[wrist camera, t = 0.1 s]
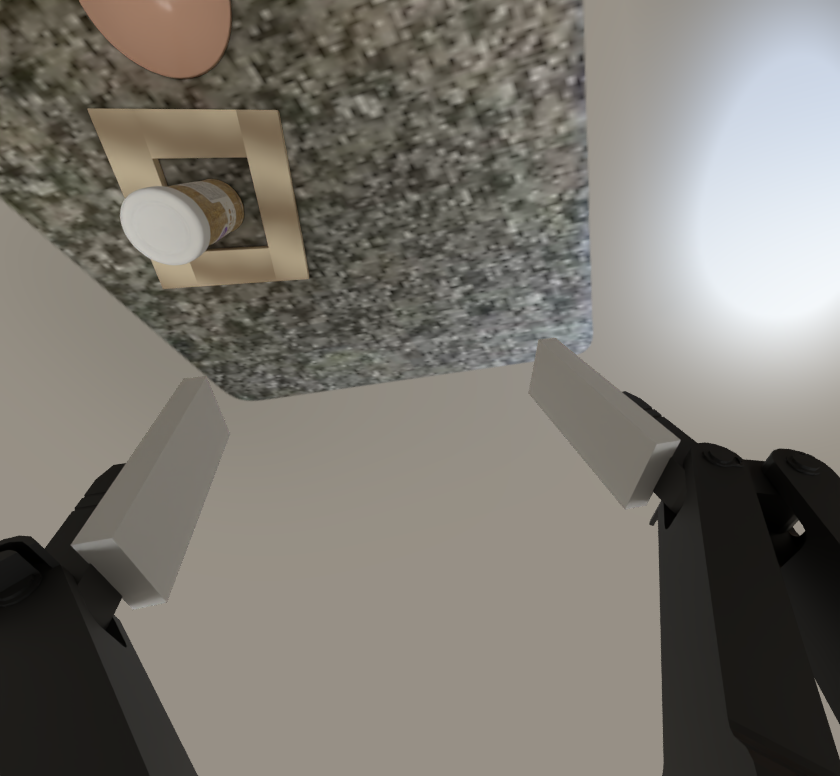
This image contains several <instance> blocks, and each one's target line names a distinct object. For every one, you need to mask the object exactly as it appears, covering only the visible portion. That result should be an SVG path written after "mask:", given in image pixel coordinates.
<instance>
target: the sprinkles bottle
mask: <svg viewBox="0 0 840 776" xmlns="http://www.w3.org/2000/svg"><path fill="white" fill-rule="evenodd" d="M243 218H244V206H243V203H242V201H241V199H240V197H239V196H238V194H237V193H236V192H235V191H234V189H233V188H231V187H230V186H229V185H228V184H226V183H224V182H222V181H220V180H216V179H205V180H202V181H196V182H190V183H184V184H178V185H172V186H168V187H164V186H152V187H147V188H142V189H139V190H136V191H134V192H132V193H131V194H129V195H128V196H127V197H126V198H125V199H124V201H123V203H122V206H121V210H120V220H121V225H122V228H123V230H124V233H125V234H126V236H127V238H128V239H129V241H130V242H131V243H132V244H133V246H134V247H135V248H136V249H137V250H139V251H140V252H141V253H142V254H143V255H145V256H146V257H148V258H150V259H152V260H154V261H156V262H159V263H162V264H166V265H183V264H187V263H189V262H191V261H193V260H195V259H196V258H198V257H199V256H201V255H202V254H203V253H204V252H205V251H206V249H207V247H208V246H209V245H211V244H213V243H215V242H216V241H218V240H219V239H221V238H222V237H224V236H225V235H227V234H228V233H230V232H232V231H234V230H236V229H237V228H239V226H240V225H241V224H242V222H243Z"/></svg>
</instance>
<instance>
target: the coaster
mask: <svg viewBox="0 0 840 776" xmlns="http://www.w3.org/2000/svg"><path fill="white" fill-rule="evenodd" d="M79 2H80V3H81V5H82V7H83V8H84V10H85V11H86V13H87V15H88V16H89V18H90V19H91V20H92V22H93V23H94V24H95V26H96V27H97V28H98V30H99V31H100V32H101V33H102V34H103V35H104V36H105V38H106V39H107V40H108V41H109V42H110V43H111V44H112V45H113V46H114V47H116V48H117V49H118V50H119V51H120V52H121V53H123V54H124V55H125V56H126V57H128V58H129V59H131V60H132V61H134V62H135V63H137V64H138V65H140V66H142V67H144V68H146V69H148V70H150V71H152V72H154V73H157V74H159V75H162V76H166V77H170V78H176V79H191V78H195V77H199V76H201V75H203V74H205V73H207V72H208V71H210V70H211V69H213V68H214V67H215V66H216V65H217V64H218V62H219V61H220V60H221V58H222V57H223V55H224V53H225V51H226V48H227V46H228V42H229V39H230V33H231V26H232V11H231V1H230V0H79Z"/></svg>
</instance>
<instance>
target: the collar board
mask: <svg viewBox="0 0 840 776" xmlns="http://www.w3.org/2000/svg"><path fill="white" fill-rule="evenodd" d="M87 110H88V112H89V115H90V117H91V119H92V122H93V124H94V126H95V129H96V131H97V134H98V136H99V138H100V141H101V143H102V145H103V148H104V150H105V152H106V155H107V157H108V160H109V162H110V164H111V167H112V169H113V171H114V174H115V176H116V178H117V181H118V183H119V186H120V188H121V190H122V193H123V195H124V197H125V198H126V197H127V196H128V195H129V194H131V193H132V192H134V191H136V190H139V189H142V188H147V187H152V186H164V187H168V185H167V182H166V180H165V177H164V174H163V171H162V168H161V166H160V163H159V160H158V158H236V157H247V159H248V163H249V167H250V171H251V175H252V180H253V184H254V188H255V192H256V196H257V201H258V205H259V209H260V213H261V217H262V222H263V226H264V230H265V234H266V238H267V243H268V246H255V247H236V248H217V249H206V251H205V252H204V253H203V254H202V255H201V256H199V257H198V258H196V259H195V260H193V261H191V262H189V263H187V264H183V265H166V264H162V263H159V262H156V261H154V260H152V259H151V261H152V264H153V266H154V268H155V271H156V273H157V275H158V278H159V280H160V283H161V285H162V287H163V289H169V288H183V287H198V286H213V285H227V284H242V283H257V282H271V281H286V280H300V279H309V270H308V265H307V260H306V254H305V249H304V243H303V238H302V232H301V227H300V222H299V216H298V211H297V205H296V200H295V195H294V189H293V184H292V178H291V173H290V167H289V162H288V157H287V151H286V146H285V140H284V135H283V129H282V124H281V119H280V113H279V111H278V110H207V109H87Z"/></svg>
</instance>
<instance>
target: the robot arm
mask: <svg viewBox="0 0 840 776" xmlns="http://www.w3.org/2000/svg"><path fill="white" fill-rule="evenodd" d="M529 394H530V396H531V397H532V398H533V399H534V400H535V401H536V403H537V404H538V405H539V406H540V408H541V409H542V410H543V411H544V412H545V414H546V415H547V416H548V417H549V418H550V420H551V421H552V422H553V423H554V424H555V426H556V427H557V428H558V429H559V430H560V432H561V433H562V434H563V435H564V437H565V438H566V439H567V440H568V441H569V442H570V444H571V445H572V446H573V448H574V449H575V450H576V451H577V452H578V454H579V455H580V456H581V457H582V458H583V459H584V461H585V462H586V463H587V464H588V466H589V467H590V468H591V469H592V470H593V472H594V473H595V474H596V475H597V476H598V478H599V479H600V480H601V481H602V483H603V484H604V485H605V486H606V487H607V488H608V490H609V491H610V492H611V493H612V495H613V496H614V497H615V498H616V499H617V501H618V502H619V503H620V504H621V505H622V507H623V508H624V509H625V510H626V509H630V508H635V507H640V506H645V505H647V503H648V501H649V499H650V497H651V495H652V494H653V492H654V493H655V494H656V495H657V496H658V497H659V498H660V499H661V502H660V504H659V506H658V508H657V509H656V511H655V513H654V515H653V516H652V518H651V521H650V525H652V526H653V525H654V524H655V522H656V520H658V536H659V577H660V579H659V580H660V624H661V667H662V708H663V753H664V766H663V775H662V776H840V759H839V756H838V752H837V749H836V746H835V743H834V740H833V736H832V733H831V730H830V727H829V724H828V720H827V717H826V714H825V711H824V708H823V704H822V701H821V698H820V695H819V692H818V688H817V685H816V682H815V680H816V681H817V683H818V685H819V687H820V689H821V691H822V693H823V694H824V696H825V698H826V700H827V702H828V704H829V705H830V707H831V709H832V711H833V713H834V715H835V716H836V718H837V720H838V722H839V724H840V477H839V476H838V475H837V474H836V473H835V472H834V471H833V470H832V469H831V468H830V467H828V466H827V465H826V464H825V463H823V462H821V461H820V460H818V459H816V458H815V457H813V456H811V455H809V454H806V453H803V452H800V451H795V450H791V449H777V450H774V451H773V452H772V453H771V454H770V456H769V457H768V458H767V460H766V461H756V460H744V459H742V458H741V457H740V456H738V455H737V454H736V453H734V452H732V451H730V450H728V449H727V448H725V447H722V446H719V445H716V444H711V443H697V442H695V441H694V440H693V439H691V438H690V437H689V436H688V435H686V434H685V433H684V432H683V431H681V430H680V429H679V428H677V427H676V426H675V425H673V424H672V423H671V422H670V421H669V420H667V419H666V418H665V417H662V416H661V414H660V413H658V412H657V411H656V410H655V409H654V410H653V409H652V407H651V406H649V405H648V404H647V403H646V402H644V401H643V400H642V399H640V398H638V397H636V396H634V395H632V394H630V393H628V392H626V391H624V392H621V391H620V390H619V389H617V388H616V387H615V386H614V385H612V384H611V383H610V382H609V381H608V380H606V379H605V378H604V377H602V376H601V375H600V374H599V373H598V372H596V371H595V370H594V369H593V368H592V367H590V366H589V365H588V364H587V363H585V362H584V361H583V360H582V359H580V358H579V357H578V356H577V355H576V354H574V353H573V352H572V351H571V350H569V349H568V348H567V347H566V346H565V345H563V344H562V343H561V342H560V341H558V340H557V339H556V338H549V339H540V340H538V346H537V351H536V356H535V361H534V367H533V372H532V377H531V382H530V388H529ZM229 435H230V432H229V430H228V427H227V425H226V422H225V420H224V418H223V415H222V413H221V410H220V408H219V405H218V403H217V400H216V398H215V396H214V393H213V391H212V388H211V386H210V384H209V381H208V379H207V376H203V377H195V378H185V379H183V380H182V382H181V383H180V385H179V386H178V388H177V389H176V391H175V392H174V394H173V395H172V397H171V398H170V399H169V401H168V402H167V404H166V405H165V407H164V408H163V410H162V411H161V413H160V414H159V416H158V417H157V419H156V420H155V422H154V423H153V424H152V426H151V427H150V429H149V431H148V432H147V433H146V435H145V436H144V438H143V439H142V441H141V442H140V444H139V445H138V447H137V448H136V449H135V451H134V452H133V454H132V455H131V457H130V458H129V460H128V461H127V463H124V464H117V465H113V466H112V467H111V468H109V469H108V470H107V471H106V472H105V473H103V474H102V475H101V476H100V477H98V478H97V479H96V480H95V481H94V483H93V484H92V485H91V487H90V488H89V489H88V491H87V492H86V494H85V495H84V496H85V497H84V498H82V499H81V500H80V502H79V503H78V505H77V506H76V507H75V511H73V512H71V514H70V515H69V516H68V518H67V519H66V521H65V522H64V523H63V525H62V526H61V527H60V529H59V530H58V531H57V533H56V534H55V535H54V537H53V538H52V539H51V541H50V542H49V544H48V545H47V546H46V548H45V549H44V548H43V547H42V546H41V545H40V544H39V543H38V542H37V541H35V540H34V539H33V538H32V537H31V536H16V537H12V538H8V539H3V540H1V541H0V776H198V775H197V773H196V771H195V769H194V767H193V765H192V763H191V761H190V759H189V757H188V755H187V753H186V751H185V749H184V747H183V745H182V744H181V741H180V739H179V737H178V735H177V733H176V732H175V729H174V728H173V725H172V723H171V721H170V719H169V717H168V715H167V713H166V711H165V709H164V707H163V705H162V703H161V702H160V699H159V697H158V696H157V693H156V691H155V690H154V687H153V686H152V683H151V681H150V679H149V678H148V675H147V673H146V671H145V669H144V667H143V666H142V663H141V662H140V659H139V657H138V655H137V654H136V651H135V650H134V648H133V645H132V644H131V642H130V640H129V638H128V636H127V634H126V632H125V630H124V628H123V626H122V624H121V622H120V620H119V619H118V618H117V617H115V615H114V613H115V611H116V609H117V607H118V605H119V603H120V601H121V599H122V598H123V600H124V601H125V602H126V603H127V604H128V605H129V606H130V607H131V608H132V609H138V608H143V607H148V606H153V605H157V604H162V603H167V601H168V598H169V595H170V593H171V590H172V587H173V585H174V582H175V579H176V577H177V574H178V571H179V569H180V566H181V563H182V561H183V558H184V555H185V553H186V550H187V547H188V545H189V542H190V539H191V537H192V534H193V531H194V529H195V526H196V523H197V521H198V518H199V515H200V513H201V510H202V507H203V505H204V502H205V499H206V497H207V494H208V491H209V489H210V486H211V483H212V481H213V478H214V475H215V473H216V470H217V467H218V465H219V462H220V459H221V457H222V454H223V451H224V449H225V446H226V443H227V441H228V438H229ZM798 520H799V521H800V522H801V524H802V525H803V527H804V529H805V532H804V533H803V534H802V535H800V536H799V534H798V533H797V532H796V531H795V530H794V528H793V526H794V524H796V522H797V521H798ZM814 678H815V679H814Z"/></svg>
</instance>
